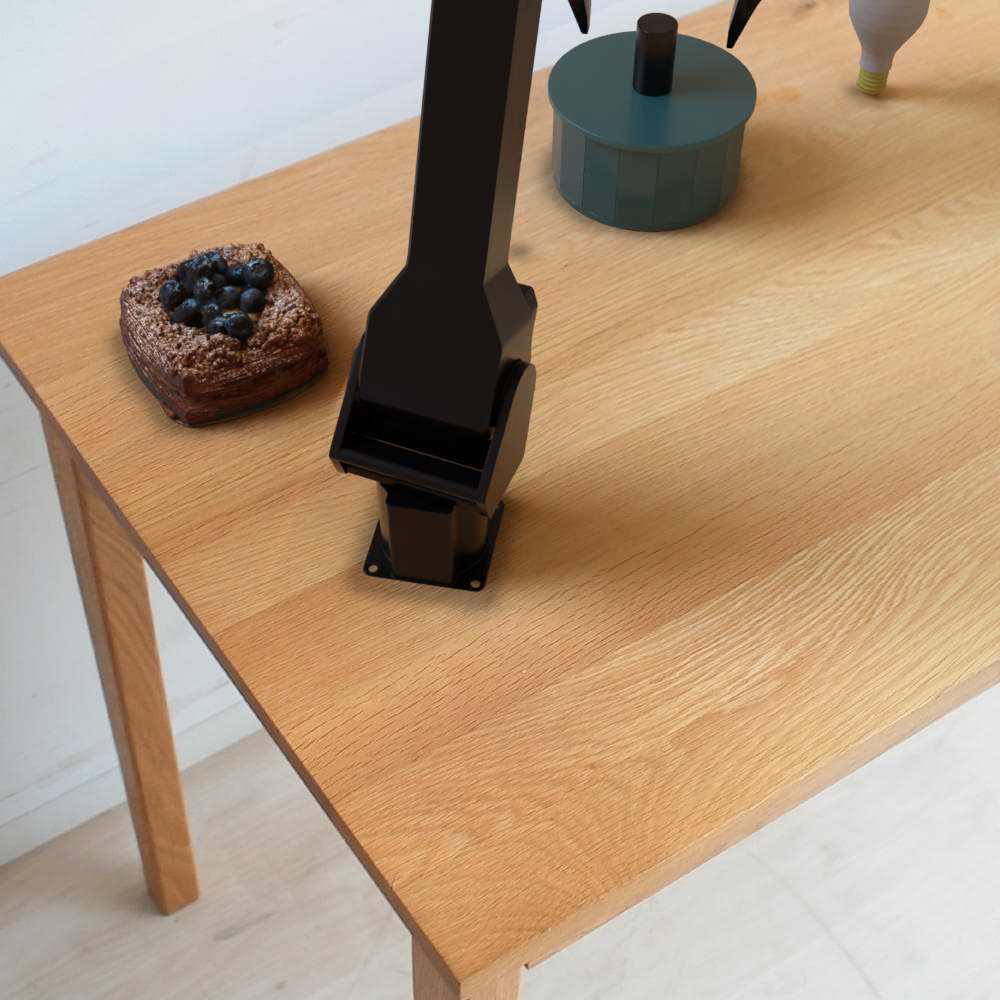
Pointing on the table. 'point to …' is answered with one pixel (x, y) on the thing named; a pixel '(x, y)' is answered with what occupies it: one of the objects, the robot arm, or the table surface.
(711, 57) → the lid
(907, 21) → the light bulb
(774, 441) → the table surface
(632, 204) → the pot
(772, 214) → the table surface
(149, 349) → the pastry
